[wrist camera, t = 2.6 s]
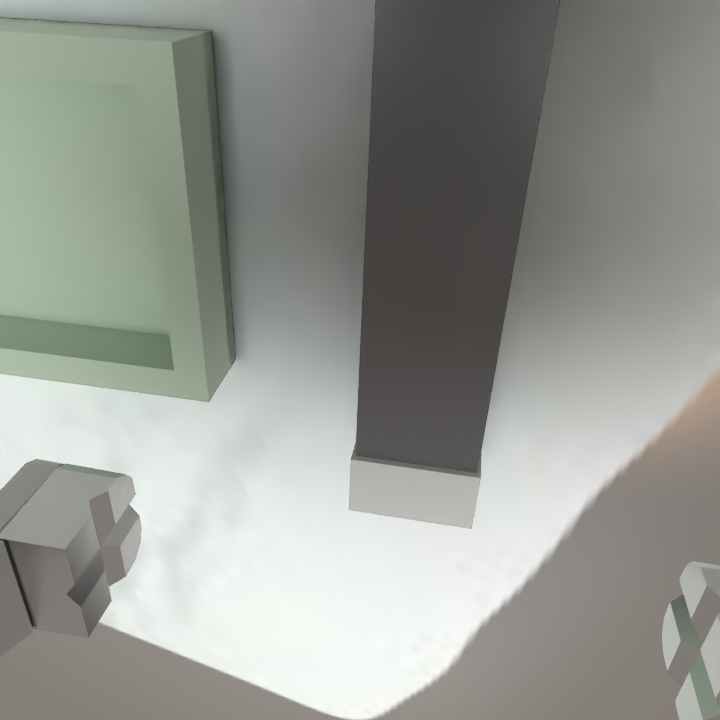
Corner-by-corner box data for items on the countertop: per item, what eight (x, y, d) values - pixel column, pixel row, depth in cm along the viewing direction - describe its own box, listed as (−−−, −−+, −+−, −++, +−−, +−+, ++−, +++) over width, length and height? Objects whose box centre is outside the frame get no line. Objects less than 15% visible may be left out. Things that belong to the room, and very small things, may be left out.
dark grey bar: (397, -79, 15) (372, -85, 12) (563, -73, 15) (580, -77, 12) (368, 435, 23) (348, 509, 20) (474, 449, 23) (471, 528, 20)
